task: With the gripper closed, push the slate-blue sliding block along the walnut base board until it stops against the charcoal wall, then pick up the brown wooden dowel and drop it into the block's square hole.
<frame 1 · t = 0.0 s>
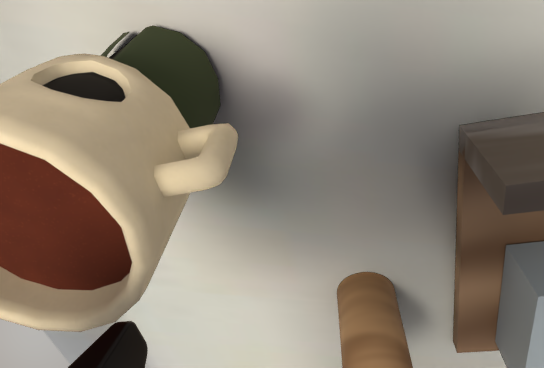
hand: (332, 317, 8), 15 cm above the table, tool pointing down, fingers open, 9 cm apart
character mug: (166, 84, 22), on the table
dowel: (365, 292, 28), on the table
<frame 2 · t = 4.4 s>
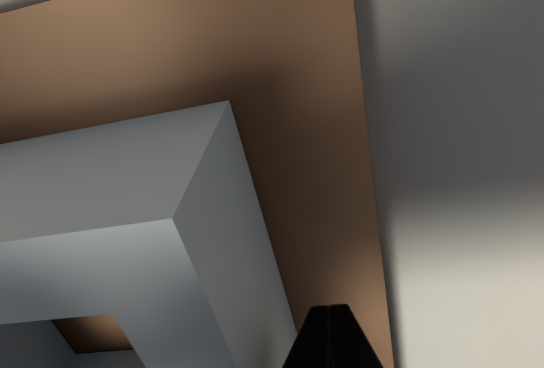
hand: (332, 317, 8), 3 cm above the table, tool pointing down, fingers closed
sliding block: (86, 341, 10), point 3 cm above the table, slide at 4.5 cm, touching gripper
base board: (81, 260, 13), on the table
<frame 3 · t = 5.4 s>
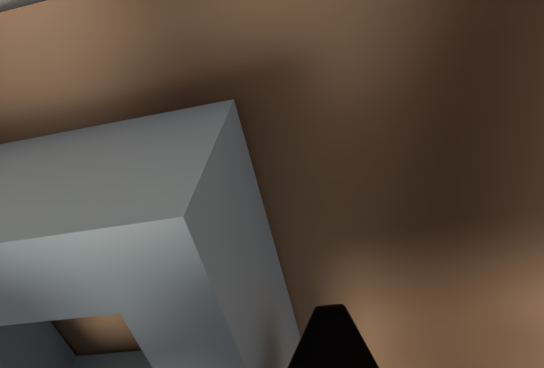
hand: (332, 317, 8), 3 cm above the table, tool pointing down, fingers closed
sliding block: (89, 343, 9), point 3 cm above the table, slide at -0.1 cm, touching gripper
base board: (223, 243, 12), on the table
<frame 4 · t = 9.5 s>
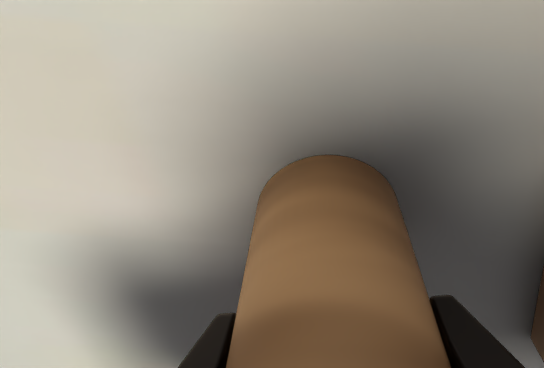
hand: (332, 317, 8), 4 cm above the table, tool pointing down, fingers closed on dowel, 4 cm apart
dowel: (326, 216, 11), on the table, touching gripper
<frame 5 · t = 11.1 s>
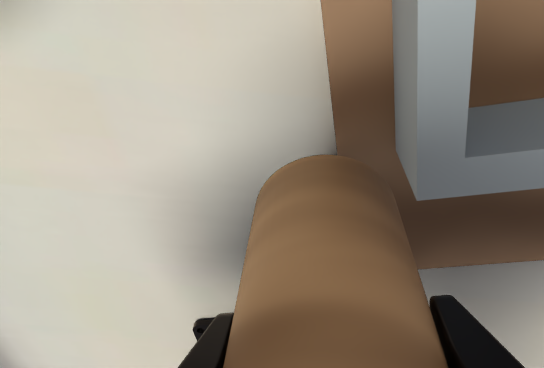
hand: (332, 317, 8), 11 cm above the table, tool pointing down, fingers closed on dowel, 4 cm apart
dowel: (324, 216, 11), point 8 cm above the table, touching gripper
base board: (500, 87, 17), on the table
when the fingers open (6 cm above the table, at t = 13.0 s): dowel drops 1 cm, resting on base board.
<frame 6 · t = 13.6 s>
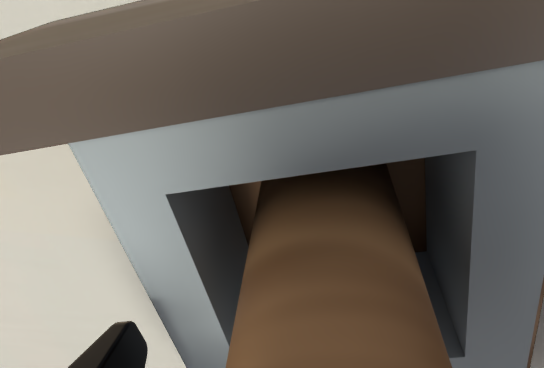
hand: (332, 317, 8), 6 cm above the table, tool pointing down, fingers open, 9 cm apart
sliding block: (328, 229, 11), point 3 cm above the table, slide at 0.0 cm
dowel: (324, 187, 13), point 1 cm above the table, touching base board
base board: (335, 234, 15), on the table
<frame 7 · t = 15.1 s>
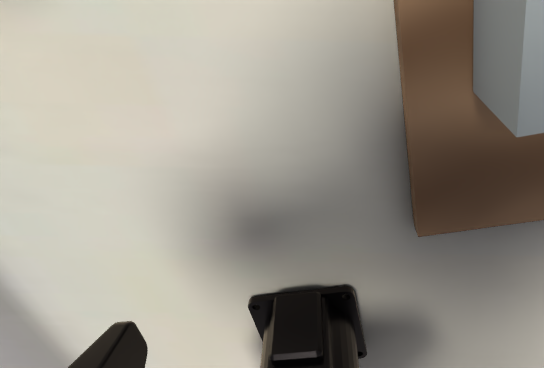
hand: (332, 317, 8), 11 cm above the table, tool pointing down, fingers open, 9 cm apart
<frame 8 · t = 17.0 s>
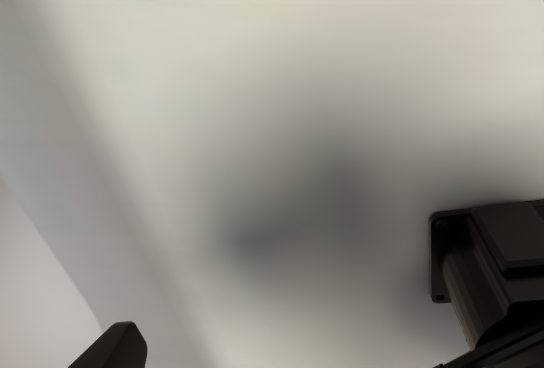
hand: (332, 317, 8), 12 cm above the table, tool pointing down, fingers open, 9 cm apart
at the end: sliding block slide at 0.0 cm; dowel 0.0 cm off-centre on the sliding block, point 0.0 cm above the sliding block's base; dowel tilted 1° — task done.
